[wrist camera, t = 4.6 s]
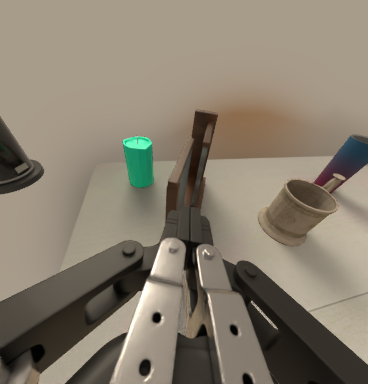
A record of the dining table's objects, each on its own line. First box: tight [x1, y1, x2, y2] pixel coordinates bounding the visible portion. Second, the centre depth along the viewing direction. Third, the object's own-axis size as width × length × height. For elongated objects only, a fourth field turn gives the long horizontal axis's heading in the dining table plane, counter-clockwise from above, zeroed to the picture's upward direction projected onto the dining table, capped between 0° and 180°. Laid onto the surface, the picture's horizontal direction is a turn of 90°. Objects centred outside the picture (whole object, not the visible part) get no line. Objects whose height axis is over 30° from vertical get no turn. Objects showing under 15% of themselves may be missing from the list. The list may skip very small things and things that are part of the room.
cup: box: [314, 135, 368, 193], centre depth 40 cm, size 7×7×15 cm
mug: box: [258, 173, 346, 246], centre depth 30 cm, size 14×10×12 cm
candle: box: [123, 137, 153, 188], centre depth 35 cm, size 6×6×12 cm
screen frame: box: [160, 109, 218, 241], centre depth 28 cm, size 6×22×18 cm, turn 168°
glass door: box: [165, 138, 194, 224], centre depth 24 cm, size 1×11×14 cm, turn 168°
